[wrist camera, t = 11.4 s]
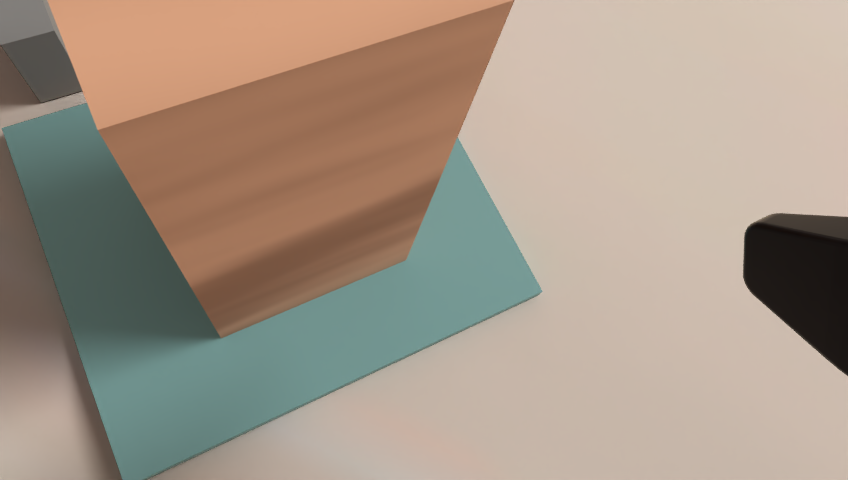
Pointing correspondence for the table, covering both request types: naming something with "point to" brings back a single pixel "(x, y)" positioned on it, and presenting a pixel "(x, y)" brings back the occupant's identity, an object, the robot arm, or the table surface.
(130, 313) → the teal mat
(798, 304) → the robot arm
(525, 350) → the table surface
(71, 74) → the charcoal u-shaped frame
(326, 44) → the terracotta block
